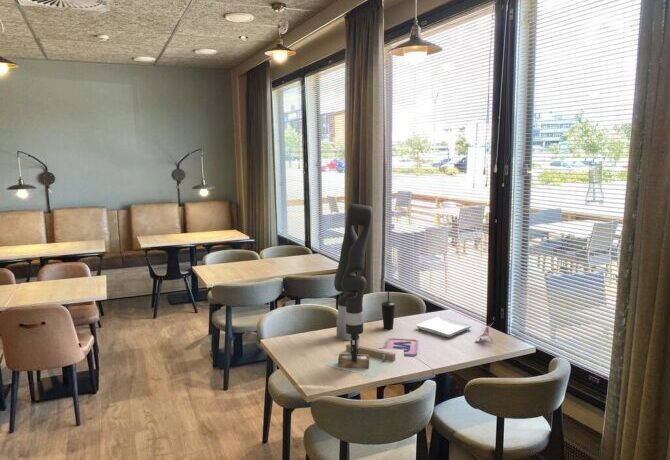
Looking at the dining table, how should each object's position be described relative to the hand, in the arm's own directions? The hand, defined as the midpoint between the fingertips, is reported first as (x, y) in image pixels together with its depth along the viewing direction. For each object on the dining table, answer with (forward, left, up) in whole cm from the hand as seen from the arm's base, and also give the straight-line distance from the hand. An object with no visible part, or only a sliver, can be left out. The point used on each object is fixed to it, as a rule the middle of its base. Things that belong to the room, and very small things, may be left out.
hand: (355, 358), depth 220 cm
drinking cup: (-10, +52, -5) cm, 53 cm away
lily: (+39, +59, -5) cm, 71 cm away
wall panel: (0, +4, -5) cm, 6 cm away
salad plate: (+16, +64, -5) cm, 66 cm away
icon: (+5, +30, -5) cm, 31 cm away
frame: (-1, 0, -4) cm, 4 cm away
